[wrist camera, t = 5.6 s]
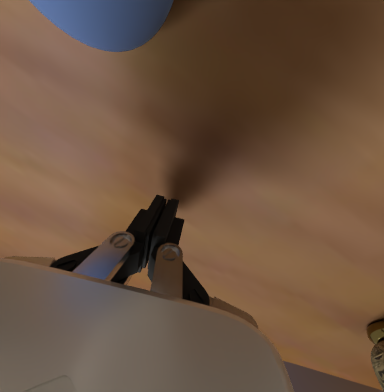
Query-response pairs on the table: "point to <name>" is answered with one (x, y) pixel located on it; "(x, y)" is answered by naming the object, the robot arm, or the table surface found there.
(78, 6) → the ball
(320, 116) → the table surface
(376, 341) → the cup
